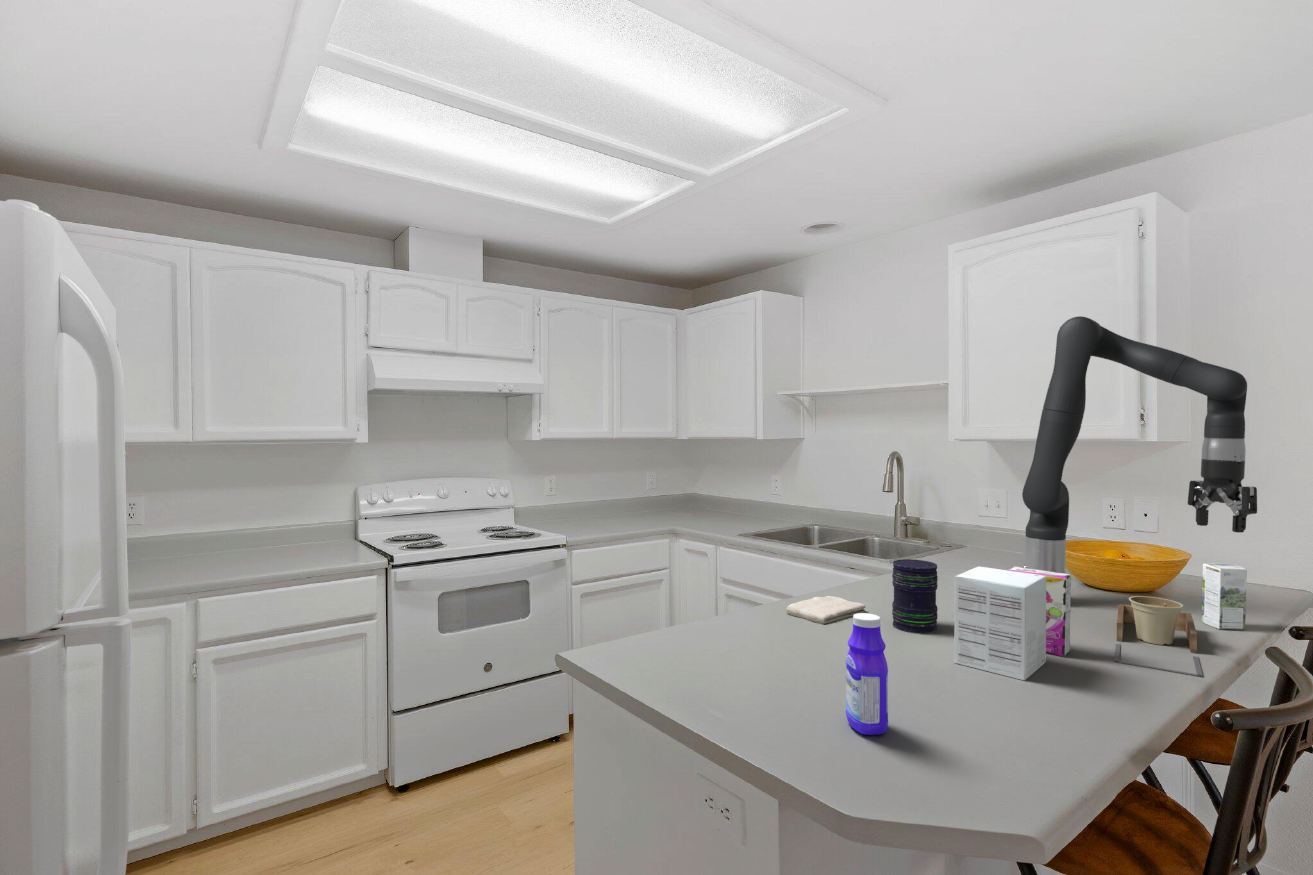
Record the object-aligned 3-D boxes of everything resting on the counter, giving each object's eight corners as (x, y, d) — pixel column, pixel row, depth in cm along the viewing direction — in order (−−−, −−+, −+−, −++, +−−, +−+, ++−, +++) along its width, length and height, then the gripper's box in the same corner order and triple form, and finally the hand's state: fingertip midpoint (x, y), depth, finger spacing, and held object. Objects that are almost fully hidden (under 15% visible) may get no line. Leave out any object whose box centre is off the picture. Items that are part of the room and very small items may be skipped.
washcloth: (868, 613, 165) (868, 601, 165) (824, 627, 153) (824, 614, 153) (829, 603, 174) (829, 592, 174) (785, 616, 163) (785, 603, 163)
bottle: (840, 717, 105) (840, 610, 105) (874, 716, 105) (874, 609, 105) (857, 738, 98) (858, 623, 97) (894, 737, 98) (894, 622, 98)
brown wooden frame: (1116, 640, 142) (1116, 622, 142) (1118, 620, 157) (1118, 603, 157) (1196, 653, 134) (1197, 634, 134) (1191, 630, 149) (1191, 613, 149)
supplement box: (976, 647, 138) (977, 565, 138) (1046, 663, 129) (1047, 575, 128) (952, 663, 129) (952, 575, 129) (1025, 681, 119) (1026, 587, 119)
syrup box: (1226, 623, 154) (1227, 562, 154) (1246, 630, 149) (1247, 567, 148) (1200, 622, 155) (1201, 562, 155) (1219, 630, 149) (1220, 567, 149)
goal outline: (1114, 661, 129) (1114, 660, 129) (1115, 644, 140) (1115, 643, 140) (1203, 677, 121) (1203, 676, 121) (1198, 657, 131) (1198, 656, 131)
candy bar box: (1005, 645, 139) (1005, 569, 139) (1011, 640, 143) (1012, 565, 142) (1065, 658, 131) (1066, 577, 131) (1071, 651, 135) (1071, 573, 135)
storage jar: (891, 630, 149) (891, 566, 149) (892, 619, 158) (892, 558, 158) (938, 635, 146) (938, 569, 145) (937, 623, 155) (937, 561, 154)
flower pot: (1171, 636, 145) (1172, 597, 145) (1190, 650, 136) (1191, 609, 136) (1122, 632, 148) (1122, 594, 148) (1137, 645, 139) (1137, 605, 139)
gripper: (1179, 456, 155) (1176, 523, 155) (1239, 460, 141) (1235, 534, 141) (1208, 456, 156) (1205, 523, 156) (1270, 460, 141) (1266, 534, 142)
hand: (1219, 528), depth 149 cm, fingers open, 8 cm apart
